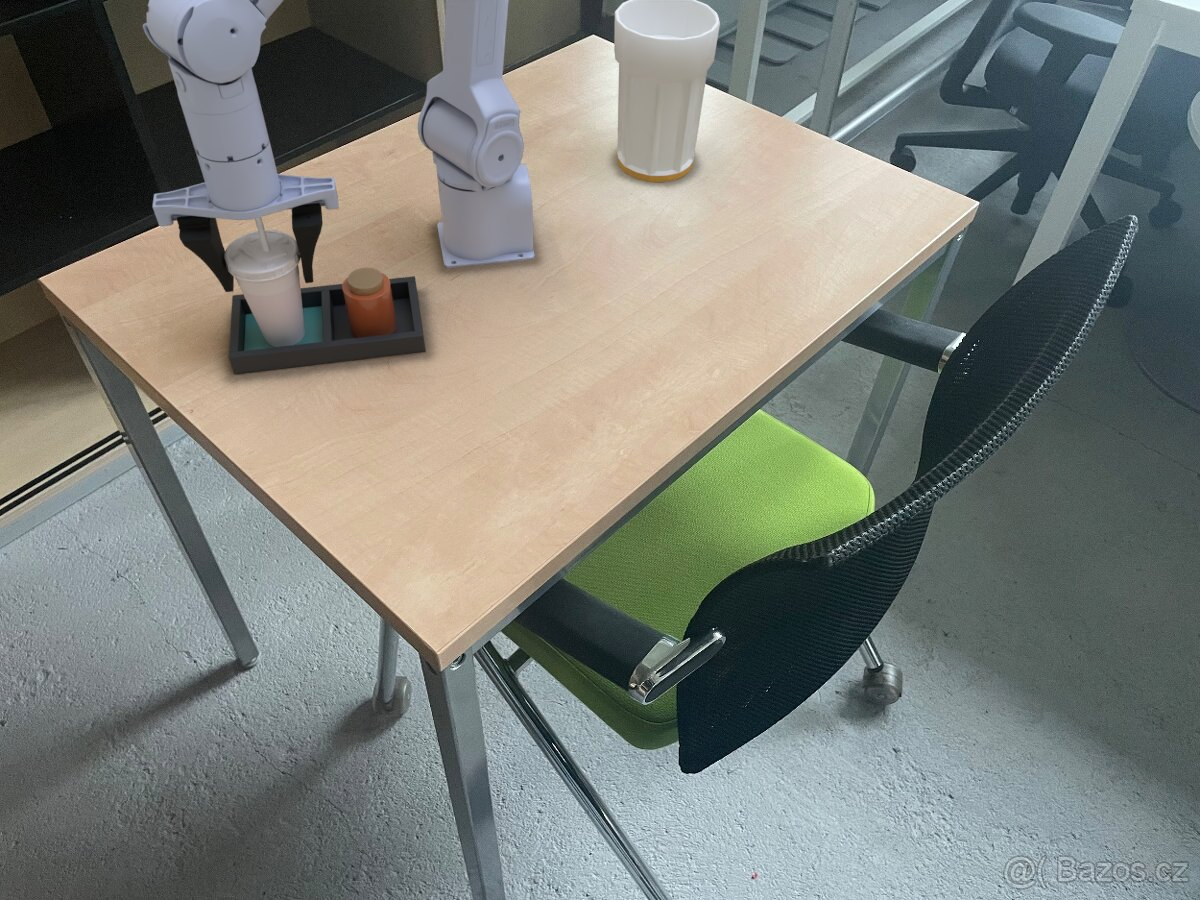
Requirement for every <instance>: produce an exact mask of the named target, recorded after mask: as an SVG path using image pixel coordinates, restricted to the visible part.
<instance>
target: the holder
mask: <svg viewBox="0 0 1200 900" xmlns="http://www.w3.org/2000/svg"><path fill="white" fill-rule="evenodd" d="M389 280H390V283H391V290H392V296H393V302H394V308H395V315H396V321H397V327H396V330H395V331H394V332H393V333H392V334H386V335H377V336H369V337H360V338H357V337H356V336H354V335H353V333H352V332H351V328H350V323H349V318H348V313H347V309H346V304H345V299H344V294H343V289H342V285H343V283H335V284H328V285H319V286H318V285H317V286H309V287H301V298H302V308H303V318H304V328H305V335H304V337H303V339H302V340H301V341H299V342H298V343H297V344H295V345H290V346H282V347H274V346H272V345H270V344H268V343H267V342H266V340H265V338H264V336H263V334H262V332H261V330H260V328H259V325H258V323H257V321H256V319H255V317H254V315H253V313H252V311H251V309H250V307H249V305H248V303H247V301H246V299H245V297H244V295H243V293H242V294H241V293H240V294H232V297H231V316H230V330H229V348H228V349H229V350H228V360H229V363H230V367H231V369H232V373H233V375H244V374H251V373H252V374H253V373H261V372H269V371H277V370H286V369H287V370H288V369H294V368H295V369H296V368H302V367H311V366H319V365H320V366H321V365H328V364H336V363H338V364H339V363H345V362H355V361H362V360H370V359H378V358H388V357H396V356H404V355H411V354H420V353H426V352H427V350H426V343H425V336H424V329H423V323H422V322H423V321H422V315H421V309H420V308H421V307H420V301H419V295H418V288H417V281H416V276H414V275H413V276H403V277H394V278H389Z"/></svg>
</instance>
